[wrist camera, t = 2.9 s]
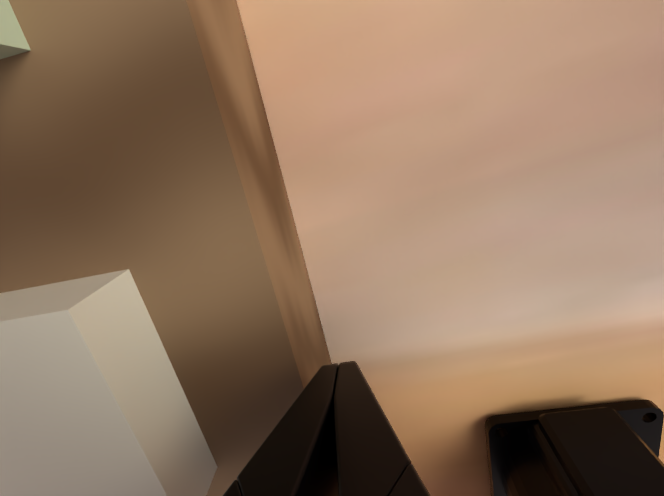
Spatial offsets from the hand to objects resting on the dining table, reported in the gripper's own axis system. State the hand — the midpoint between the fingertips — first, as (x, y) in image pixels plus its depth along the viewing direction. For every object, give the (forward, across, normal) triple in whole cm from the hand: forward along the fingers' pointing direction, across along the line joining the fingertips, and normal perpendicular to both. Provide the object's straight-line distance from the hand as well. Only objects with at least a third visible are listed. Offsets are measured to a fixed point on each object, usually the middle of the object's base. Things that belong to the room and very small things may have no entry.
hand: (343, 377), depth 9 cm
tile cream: (+1, +8, 0) cm, 8 cm away
